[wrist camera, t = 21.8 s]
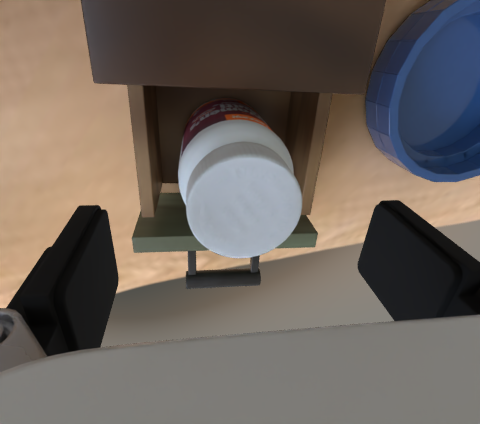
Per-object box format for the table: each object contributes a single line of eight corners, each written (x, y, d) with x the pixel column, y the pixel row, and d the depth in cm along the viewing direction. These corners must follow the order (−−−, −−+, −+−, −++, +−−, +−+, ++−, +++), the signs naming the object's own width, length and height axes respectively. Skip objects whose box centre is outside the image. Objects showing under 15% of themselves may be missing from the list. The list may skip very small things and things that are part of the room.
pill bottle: (256, 86, 22) (307, 122, 12) (271, 166, 25) (322, 248, 15) (171, 108, 22) (151, 163, 12) (196, 186, 25) (198, 281, 15)
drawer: (282, 252, 30) (303, 303, 24) (152, 256, 29) (141, 312, 23) (317, 13, 21) (365, 1, 15) (127, -2, 19) (97, -22, 13)
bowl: (346, 164, 28) (368, 182, 24) (388, -20, 21) (426, -32, 18) (478, 166, 30) (516, 182, 26) (553, -4, 23) (616, -12, 20)
